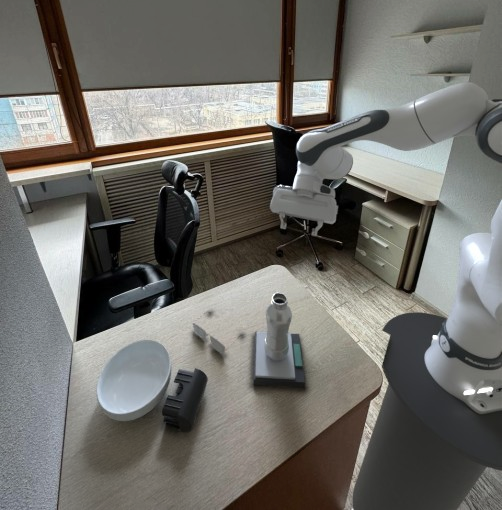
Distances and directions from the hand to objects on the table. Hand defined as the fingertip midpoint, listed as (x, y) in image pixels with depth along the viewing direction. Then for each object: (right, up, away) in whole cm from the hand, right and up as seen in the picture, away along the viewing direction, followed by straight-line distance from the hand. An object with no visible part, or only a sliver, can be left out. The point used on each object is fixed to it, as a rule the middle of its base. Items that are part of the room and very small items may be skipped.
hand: (298, 231), depth 80 cm
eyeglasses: (-24, -31, +1) cm, 40 cm away
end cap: (-29, -39, -16) cm, 51 cm away
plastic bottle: (-7, -32, -7) cm, 33 cm away
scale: (-7, -34, -6) cm, 35 cm away
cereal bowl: (-42, -37, -13) cm, 58 cm away
